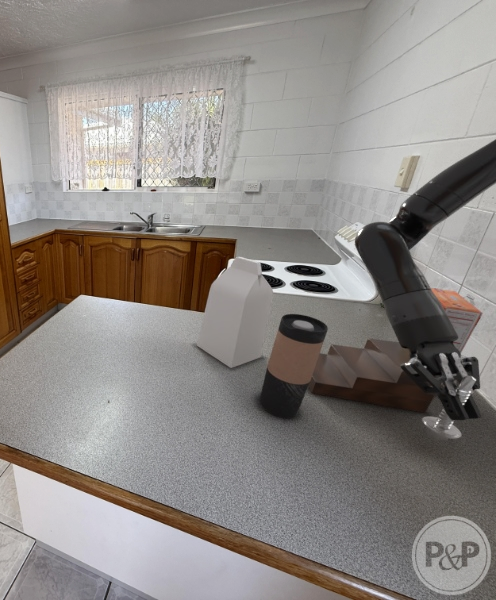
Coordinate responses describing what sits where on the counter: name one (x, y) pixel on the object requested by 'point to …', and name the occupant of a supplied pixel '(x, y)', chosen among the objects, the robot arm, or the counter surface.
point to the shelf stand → (369, 376)
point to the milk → (237, 314)
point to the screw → (443, 424)
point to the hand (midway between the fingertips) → (466, 418)
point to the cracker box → (459, 315)
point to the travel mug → (292, 364)
